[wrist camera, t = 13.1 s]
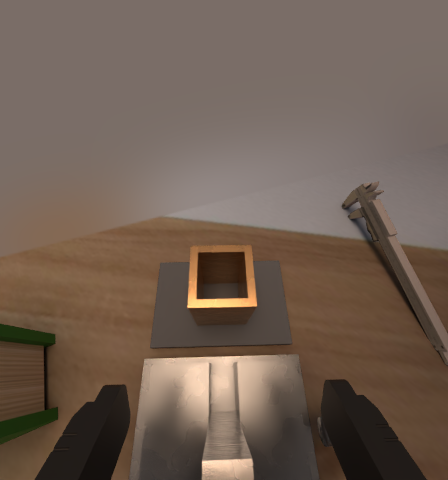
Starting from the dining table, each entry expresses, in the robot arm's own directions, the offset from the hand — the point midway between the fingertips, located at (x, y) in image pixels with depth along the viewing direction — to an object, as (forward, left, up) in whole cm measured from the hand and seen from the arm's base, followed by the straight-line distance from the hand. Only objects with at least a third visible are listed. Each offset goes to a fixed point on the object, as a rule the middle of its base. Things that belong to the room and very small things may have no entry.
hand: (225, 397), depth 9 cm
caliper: (-20, -11, -15) cm, 27 cm away
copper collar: (0, -7, -13) cm, 15 cm away
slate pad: (0, -7, -14) cm, 16 cm away
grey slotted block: (-1, +3, -14) cm, 14 cm away
